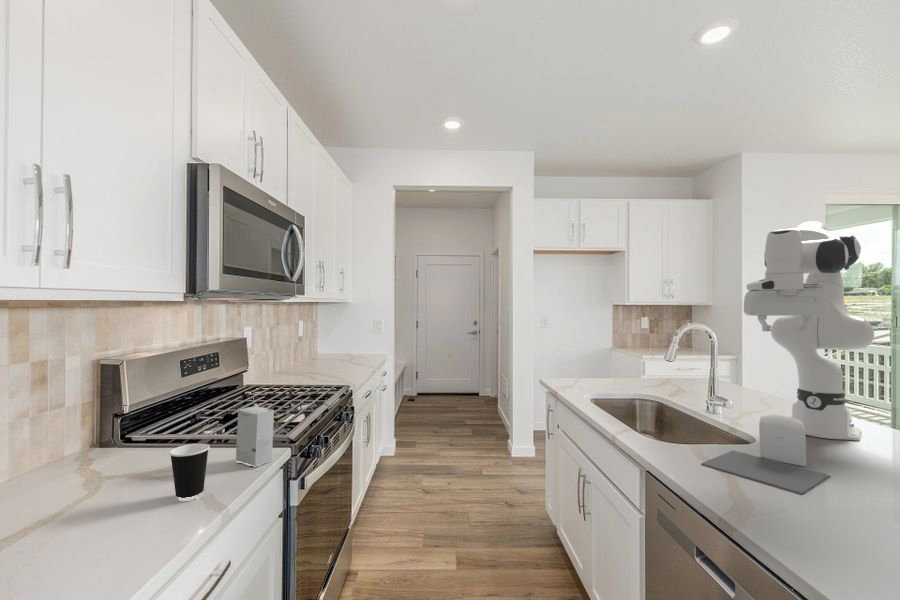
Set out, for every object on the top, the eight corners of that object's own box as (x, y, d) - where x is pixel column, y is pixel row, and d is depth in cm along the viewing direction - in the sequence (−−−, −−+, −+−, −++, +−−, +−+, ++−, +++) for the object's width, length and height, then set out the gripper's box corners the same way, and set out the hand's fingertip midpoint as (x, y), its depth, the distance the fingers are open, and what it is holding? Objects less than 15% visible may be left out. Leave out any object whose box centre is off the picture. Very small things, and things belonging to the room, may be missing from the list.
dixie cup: (160, 502, 95) (160, 452, 95) (193, 487, 103) (193, 441, 103) (186, 507, 92) (186, 456, 93) (217, 492, 100) (217, 445, 100)
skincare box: (235, 463, 118) (235, 409, 118) (254, 456, 124) (254, 405, 124) (256, 468, 114) (256, 413, 114) (274, 461, 120) (274, 408, 120)
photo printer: (757, 457, 120) (756, 413, 120) (762, 454, 123) (761, 411, 123) (804, 468, 112) (803, 421, 112) (808, 464, 115) (807, 418, 115)
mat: (733, 451, 125) (733, 450, 125) (830, 476, 107) (830, 475, 107) (701, 464, 115) (701, 463, 115) (802, 494, 97) (802, 493, 97)
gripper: (816, 284, 126) (817, 331, 126) (740, 284, 129) (741, 330, 129) (832, 283, 120) (832, 332, 120) (751, 283, 123) (752, 331, 123)
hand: (784, 331), depth 125 cm, fingers open, 8 cm apart
